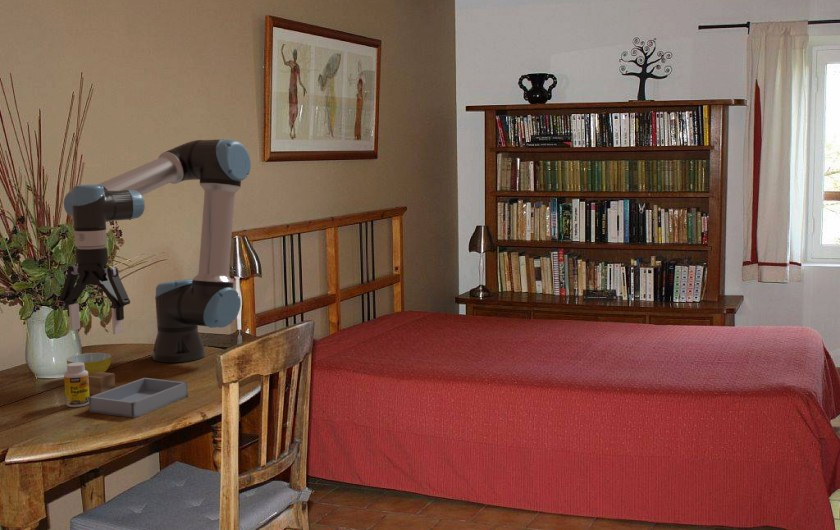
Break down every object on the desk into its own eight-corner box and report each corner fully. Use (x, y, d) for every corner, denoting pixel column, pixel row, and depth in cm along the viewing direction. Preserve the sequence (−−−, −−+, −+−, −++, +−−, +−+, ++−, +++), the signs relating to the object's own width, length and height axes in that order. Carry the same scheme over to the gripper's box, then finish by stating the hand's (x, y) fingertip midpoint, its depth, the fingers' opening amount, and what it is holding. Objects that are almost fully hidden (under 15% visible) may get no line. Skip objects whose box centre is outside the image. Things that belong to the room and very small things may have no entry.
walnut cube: (100, 390, 238) (99, 371, 237) (115, 392, 236) (114, 373, 235) (86, 395, 233) (85, 376, 233) (101, 397, 231) (100, 378, 231)
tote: (144, 391, 236) (144, 377, 236) (187, 396, 231) (187, 382, 230) (89, 411, 218) (88, 397, 218) (134, 418, 213) (133, 403, 212)
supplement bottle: (68, 409, 221) (66, 367, 219) (63, 404, 225) (60, 363, 224) (92, 405, 224) (90, 364, 223) (87, 400, 229) (84, 360, 227)
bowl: (121, 376, 252) (120, 354, 251) (90, 386, 241) (89, 363, 241) (89, 372, 256) (88, 351, 256) (58, 382, 246) (57, 360, 245)
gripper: (41, 247, 229) (47, 330, 231) (120, 250, 219) (125, 337, 222) (63, 244, 235) (68, 325, 238) (141, 247, 226) (146, 331, 229)
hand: (96, 331), depth 230 cm, fingers open, 13 cm apart
